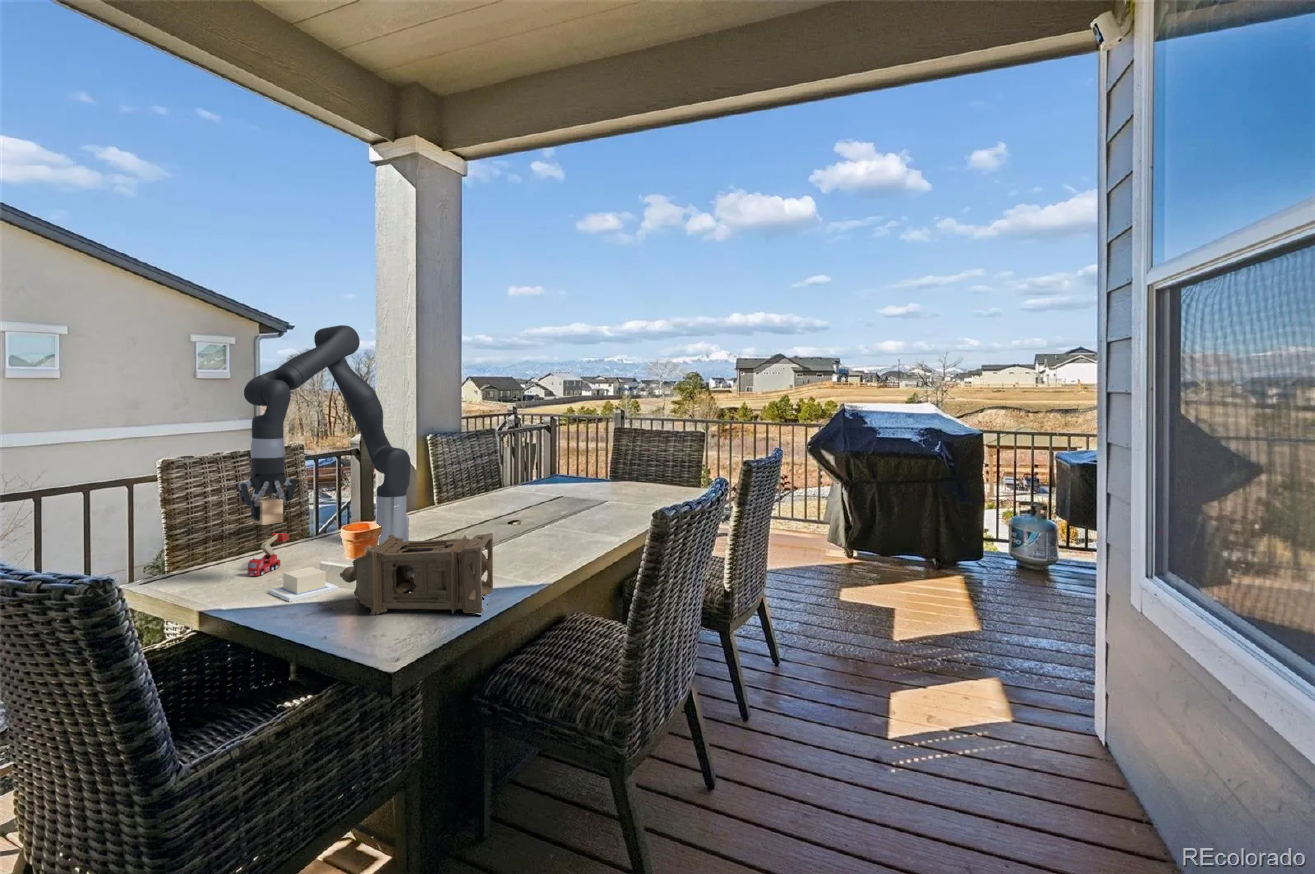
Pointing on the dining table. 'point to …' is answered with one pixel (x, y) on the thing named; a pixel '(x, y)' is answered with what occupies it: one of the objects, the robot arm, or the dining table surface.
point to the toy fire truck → (266, 557)
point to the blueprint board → (302, 596)
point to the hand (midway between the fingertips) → (268, 518)
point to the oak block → (270, 511)
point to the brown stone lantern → (424, 574)
